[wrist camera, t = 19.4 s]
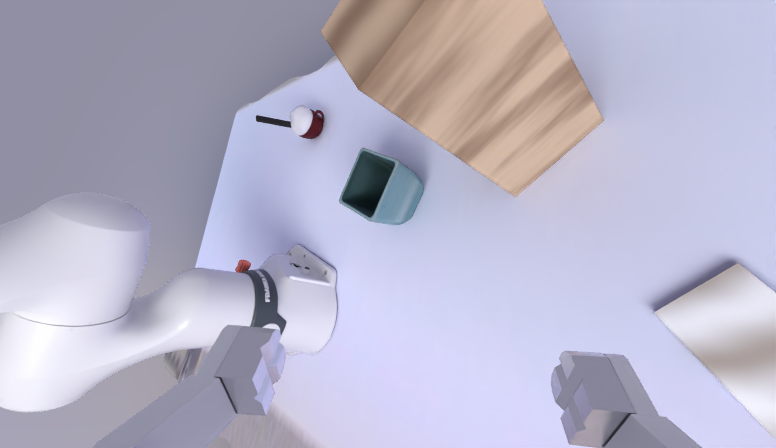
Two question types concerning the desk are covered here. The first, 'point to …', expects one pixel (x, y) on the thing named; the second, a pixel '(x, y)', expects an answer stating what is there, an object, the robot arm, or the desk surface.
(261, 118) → the cocoa
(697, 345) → the turner
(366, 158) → the flower pot
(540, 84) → the oak stand
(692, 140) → the desk surface
